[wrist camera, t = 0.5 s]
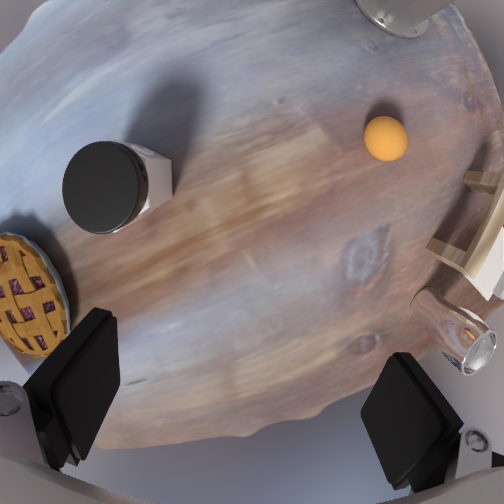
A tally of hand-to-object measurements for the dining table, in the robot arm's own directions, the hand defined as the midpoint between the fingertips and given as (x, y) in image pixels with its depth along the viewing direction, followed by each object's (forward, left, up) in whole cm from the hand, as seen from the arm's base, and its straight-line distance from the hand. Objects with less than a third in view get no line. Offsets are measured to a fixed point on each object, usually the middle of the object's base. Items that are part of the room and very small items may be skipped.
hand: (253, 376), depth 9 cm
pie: (+28, -26, -28) cm, 47 cm away
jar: (+2, -14, -28) cm, 31 cm away
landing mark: (-18, +39, -27) cm, 51 cm away
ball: (-18, +8, -25) cm, 32 cm away
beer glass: (-4, +30, -28) cm, 41 cm away
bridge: (-18, +25, -27) cm, 41 cm away
